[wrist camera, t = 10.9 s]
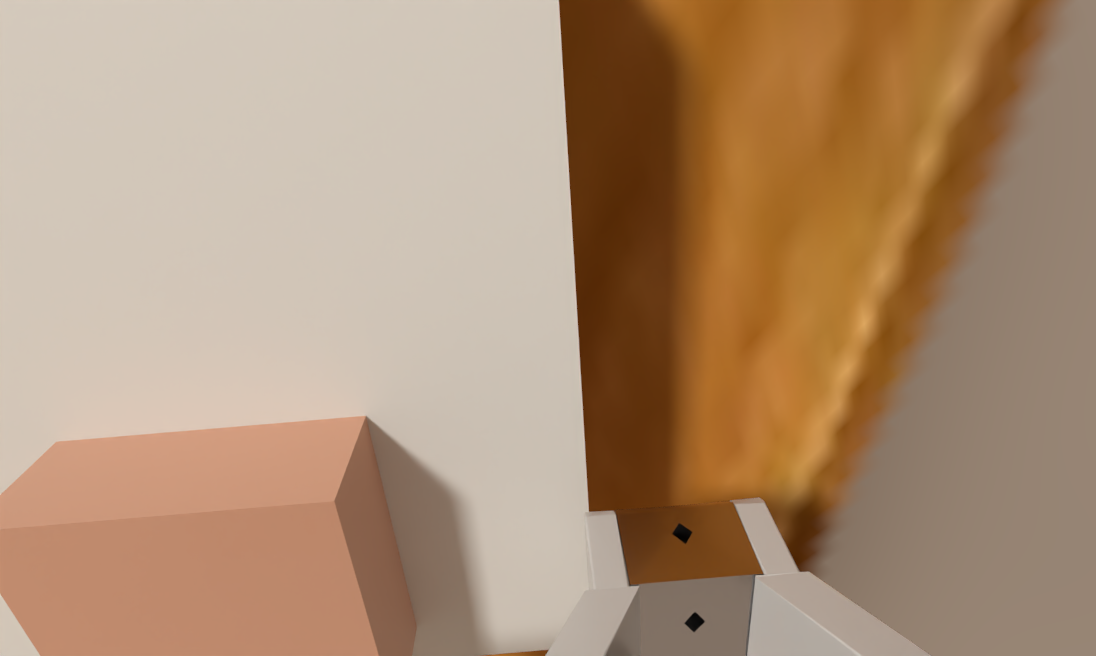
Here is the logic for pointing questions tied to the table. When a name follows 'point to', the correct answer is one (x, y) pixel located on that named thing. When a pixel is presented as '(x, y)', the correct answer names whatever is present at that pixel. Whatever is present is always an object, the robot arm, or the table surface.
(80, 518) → the tile
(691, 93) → the table surface
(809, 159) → the table surface
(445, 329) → the raised plate
